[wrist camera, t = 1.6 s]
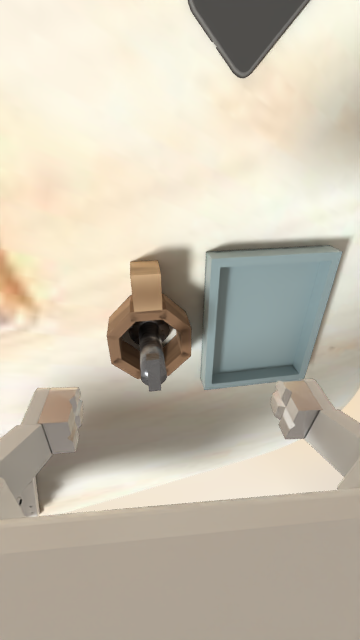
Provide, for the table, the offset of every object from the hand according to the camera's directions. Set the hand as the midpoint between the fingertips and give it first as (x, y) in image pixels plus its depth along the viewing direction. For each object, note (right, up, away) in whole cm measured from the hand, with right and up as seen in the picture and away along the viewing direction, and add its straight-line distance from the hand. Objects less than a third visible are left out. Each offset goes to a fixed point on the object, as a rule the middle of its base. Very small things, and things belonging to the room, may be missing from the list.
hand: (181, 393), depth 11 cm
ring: (-4, +4, +23) cm, 23 cm away
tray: (+10, +3, +26) cm, 28 cm away
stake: (-4, +2, +24) cm, 24 cm away
